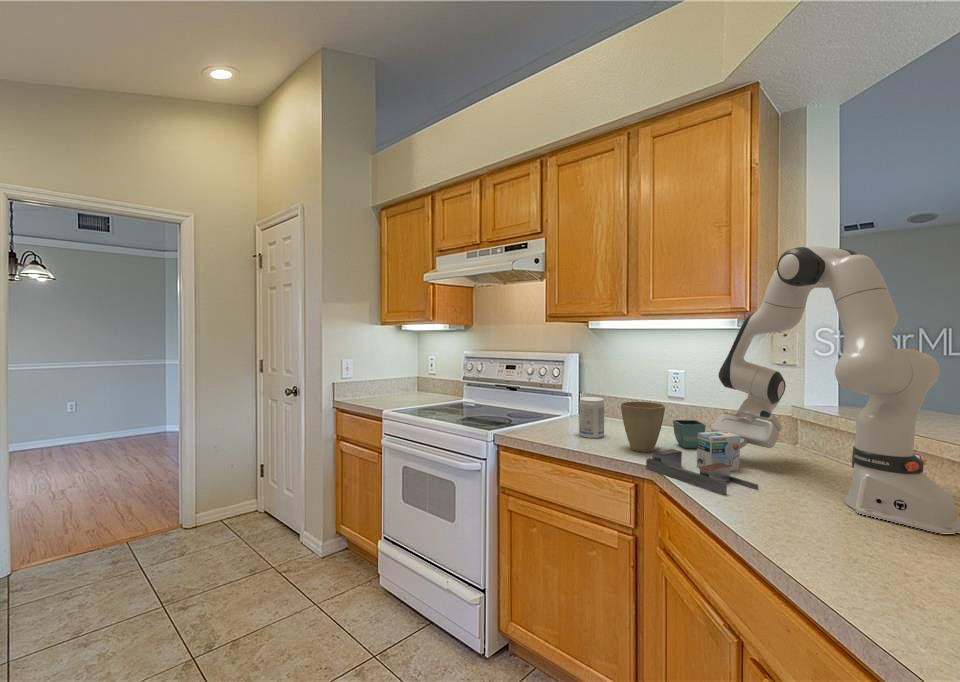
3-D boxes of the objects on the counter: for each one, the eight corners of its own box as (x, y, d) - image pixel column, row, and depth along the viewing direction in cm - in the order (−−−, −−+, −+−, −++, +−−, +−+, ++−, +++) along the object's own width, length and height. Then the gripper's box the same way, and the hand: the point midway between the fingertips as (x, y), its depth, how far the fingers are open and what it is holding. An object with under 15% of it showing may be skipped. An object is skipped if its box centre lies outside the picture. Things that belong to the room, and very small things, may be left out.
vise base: (758, 489, 135) (758, 471, 135) (728, 496, 129) (728, 478, 129) (674, 462, 159) (675, 448, 159) (646, 468, 153) (646, 453, 153)
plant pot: (662, 445, 181) (663, 402, 180) (666, 456, 166) (667, 409, 166) (619, 442, 185) (620, 400, 184) (619, 453, 170) (620, 406, 170)
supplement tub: (597, 432, 201) (598, 396, 201) (608, 438, 192) (609, 400, 191) (575, 433, 199) (575, 397, 198) (585, 439, 190) (585, 400, 189)
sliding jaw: (729, 480, 141) (730, 465, 141) (708, 485, 136) (709, 469, 136) (720, 477, 143) (720, 462, 143) (699, 482, 139) (699, 466, 139)
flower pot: (671, 443, 184) (672, 419, 184) (695, 444, 184) (696, 419, 184) (680, 449, 175) (681, 424, 175) (705, 450, 175) (706, 424, 175)
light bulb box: (711, 473, 149) (712, 437, 148) (695, 466, 155) (696, 432, 155) (740, 470, 152) (741, 435, 151) (724, 464, 158) (725, 430, 158)
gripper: (718, 405, 169) (698, 437, 164) (779, 415, 151) (758, 451, 146) (726, 417, 171) (707, 448, 167) (787, 429, 153) (767, 464, 149)
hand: (731, 450), depth 156 cm, fingers closed
